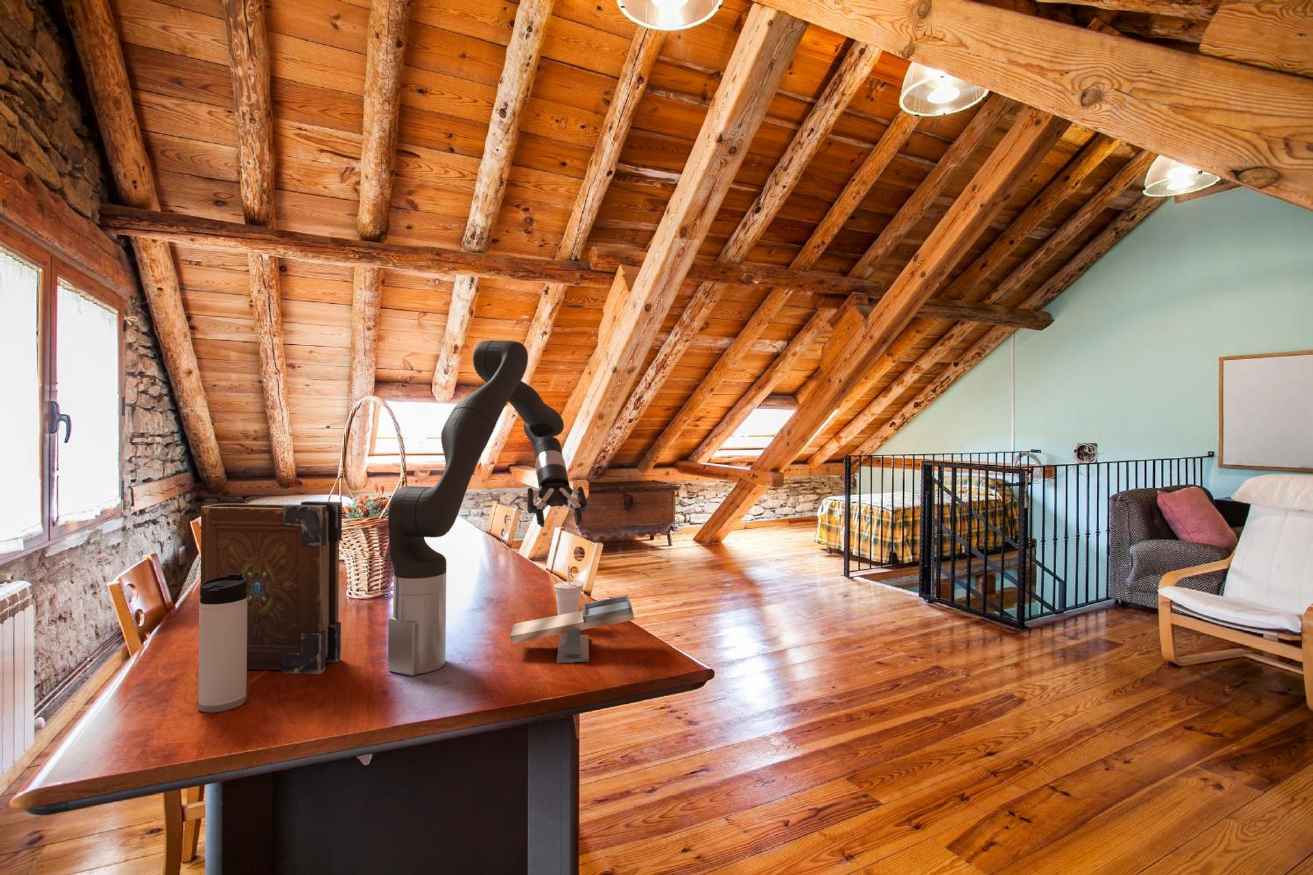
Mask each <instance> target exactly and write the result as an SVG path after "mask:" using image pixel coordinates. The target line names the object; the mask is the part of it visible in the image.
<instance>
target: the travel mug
mask: <svg viewBox="0 0 1313 875" xmlns="http://www.w3.org/2000/svg"><path fill="white" fill-rule="evenodd" d="M246 591H247V578H246V577H244V576H243V575H242V574H229V576H224V577H218V578H214V579H211V580H208V581H205V582H204V583H202V584H201V583H200V586H199V601H198V603H199V608H198V609H199V610H198V614H199V615H198V617H199V618H198V619H199V620H198V706H197V707H198V710H199V711H200V712H203V713H209V714H213V713H222V712H226V711H231V710H234V709H236V708H238V707H240V706H242V705H244V703H246V701H247V681H248V679H247V678H248V677H247V674H248V671H247V670H248V669H247V592H246Z"/></svg>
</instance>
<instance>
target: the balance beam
mask: <svg viewBox="0 0 1313 875" xmlns="http://www.w3.org/2000/svg"><path fill="white" fill-rule="evenodd" d="M634 620H635V616H634V610H633V607H632V602H631V601H630V598H629V595H628V594H627V595H621V596H616V597H611V598H606V599H605V598H604V599H599V600H596V601H590V602H585V603H582V610H578V612H573V613H568V614H563V615H558V614H557V615H553V616H548V617H544V618H543V617H542V618H538V619H532V620H527V621H521V622H518V623H517V622H516V623H514V625H513V627H512V630H511V633H510V635H509V638H510V642H511V645H512V644H518V643H523V642H528V641H532V640H538V639H542V638H548V637H553V636H557V635H559V636H560V635H564V634H567V628H579V627H580V631H583V630H588V629H594V628H599V627H605V626H609V625H614V624H620V623H623V622H624V623H625V622H629V621H634Z"/></svg>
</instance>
